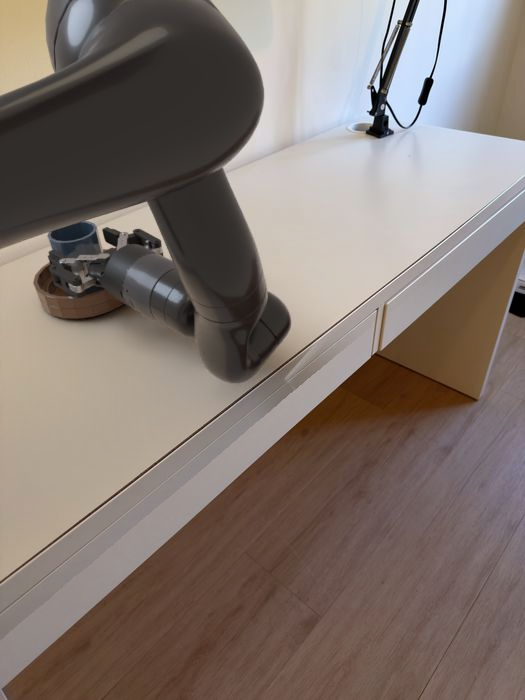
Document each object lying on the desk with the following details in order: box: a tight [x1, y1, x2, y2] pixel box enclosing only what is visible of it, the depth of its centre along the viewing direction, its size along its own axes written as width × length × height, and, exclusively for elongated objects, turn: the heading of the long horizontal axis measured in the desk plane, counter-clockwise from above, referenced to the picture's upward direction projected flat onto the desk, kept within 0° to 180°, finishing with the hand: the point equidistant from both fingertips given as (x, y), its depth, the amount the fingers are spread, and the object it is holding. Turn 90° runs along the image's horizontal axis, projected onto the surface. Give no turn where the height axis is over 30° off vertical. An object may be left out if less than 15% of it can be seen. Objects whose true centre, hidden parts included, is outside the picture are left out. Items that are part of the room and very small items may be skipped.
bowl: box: [32, 248, 125, 320], centre depth 79 cm, size 14×14×4 cm
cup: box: [46, 220, 105, 297], centre depth 77 cm, size 7×7×10 cm
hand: (79, 245), depth 74 cm, fingers open, 8 cm apart
